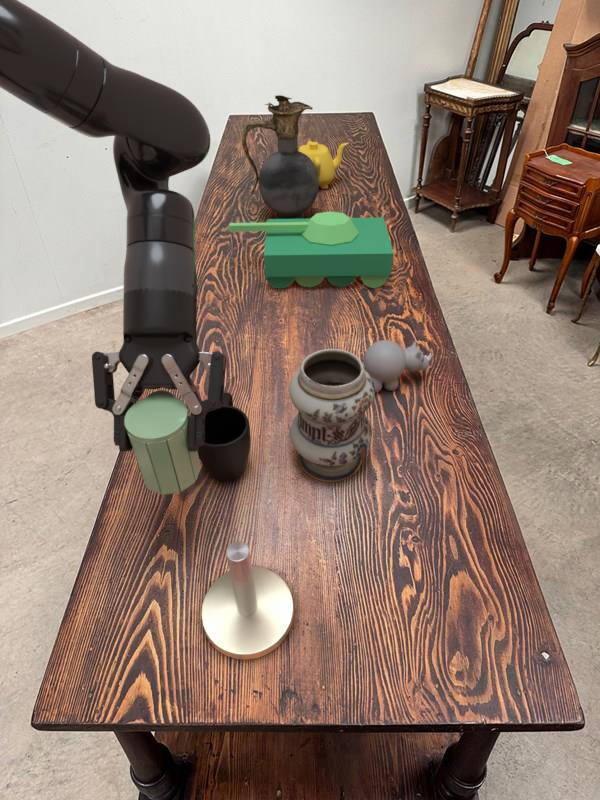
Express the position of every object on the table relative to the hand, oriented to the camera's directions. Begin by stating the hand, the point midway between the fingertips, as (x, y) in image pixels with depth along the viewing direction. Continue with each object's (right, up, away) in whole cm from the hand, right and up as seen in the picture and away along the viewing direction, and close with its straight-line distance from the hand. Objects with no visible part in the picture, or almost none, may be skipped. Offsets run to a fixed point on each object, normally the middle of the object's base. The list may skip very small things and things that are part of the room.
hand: (159, 450), depth 57 cm
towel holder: (+8, -21, +9) cm, 24 cm away
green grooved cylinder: (0, -3, +5) cm, 6 cm away
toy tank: (+17, +35, +69) cm, 79 cm away
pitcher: (+10, +54, +89) cm, 105 cm away
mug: (+4, -4, +27) cm, 27 cm away
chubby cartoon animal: (+32, +8, +39) cm, 51 cm away
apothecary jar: (+19, -4, +27) cm, 33 cm away
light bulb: (-6, -1, +30) cm, 30 cm away
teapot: (+21, +71, +106) cm, 129 cm away
